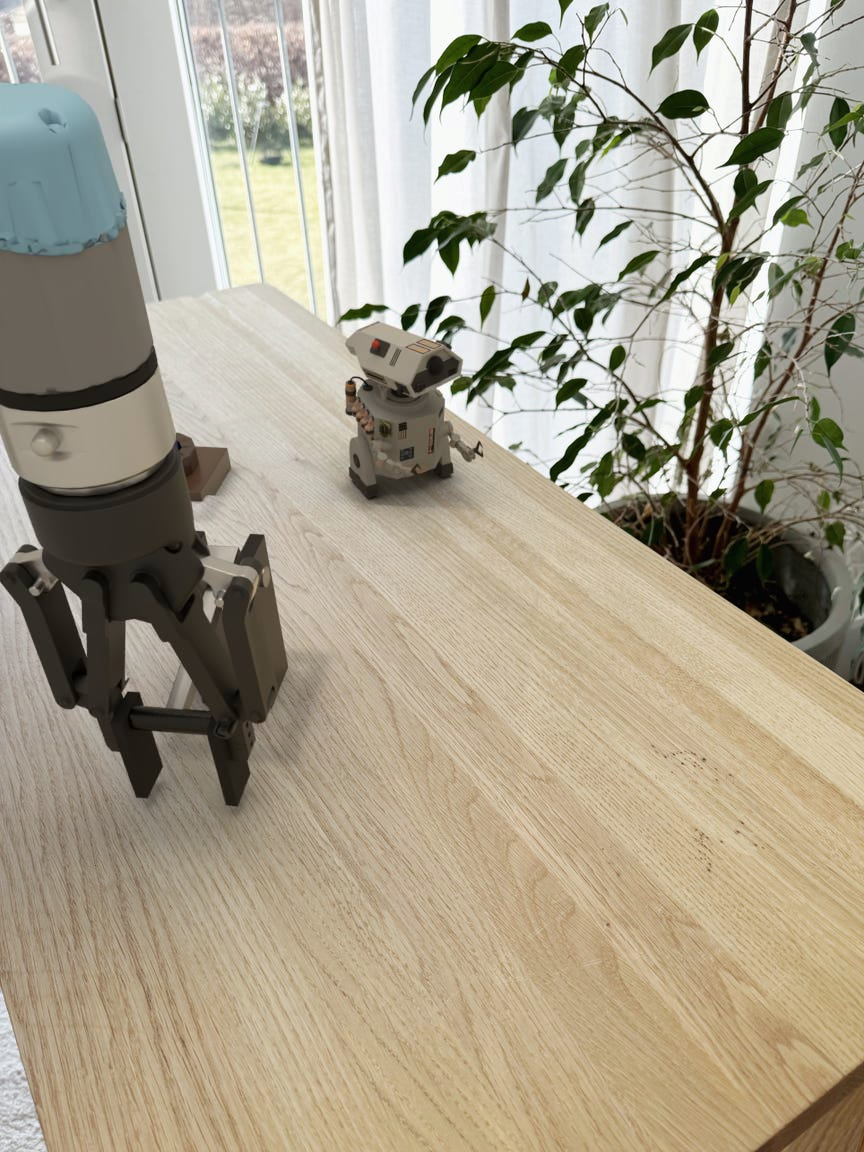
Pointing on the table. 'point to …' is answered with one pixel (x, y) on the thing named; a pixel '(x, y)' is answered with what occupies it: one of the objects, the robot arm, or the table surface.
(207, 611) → the lever
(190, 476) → the switch block
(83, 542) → the robot arm
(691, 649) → the table surface
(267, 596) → the lever bracket
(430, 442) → the figurine
